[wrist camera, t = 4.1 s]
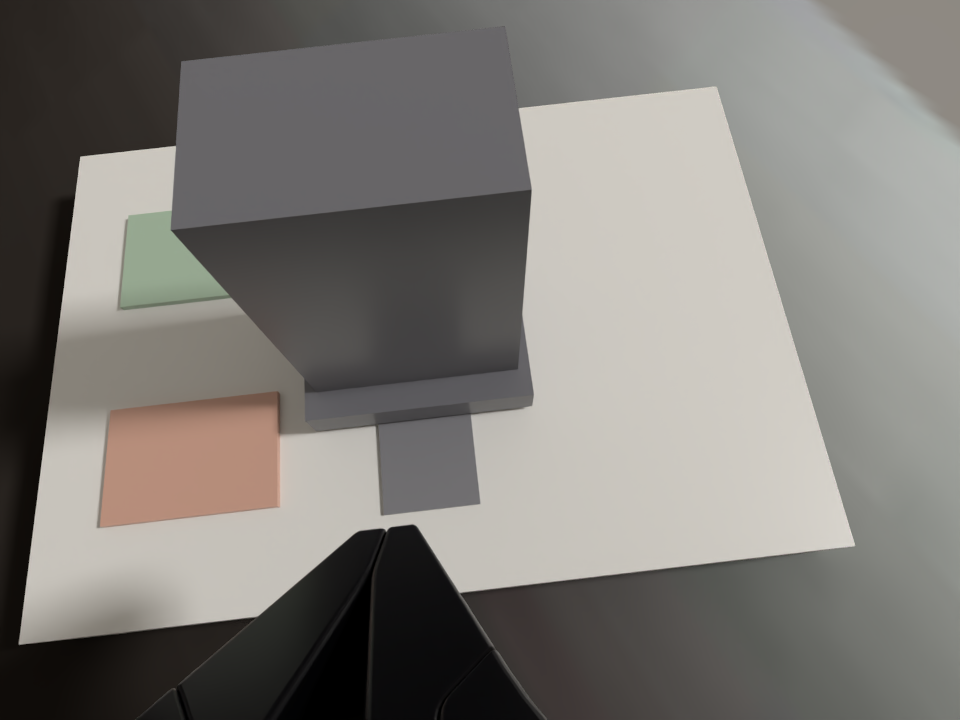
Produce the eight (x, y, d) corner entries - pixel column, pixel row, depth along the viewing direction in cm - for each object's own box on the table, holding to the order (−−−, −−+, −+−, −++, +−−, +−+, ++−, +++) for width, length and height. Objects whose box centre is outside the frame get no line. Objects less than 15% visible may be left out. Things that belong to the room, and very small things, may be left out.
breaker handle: (531, 406, 17) (561, 231, 9) (316, 431, 17) (145, 278, 9) (510, 256, 18) (518, -9, 10) (312, 279, 18) (165, 29, 10)
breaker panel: (816, 551, 17) (859, 545, 15) (71, 639, 17) (12, 645, 15) (698, 129, 22) (718, 81, 20) (116, 194, 22) (76, 152, 20)
